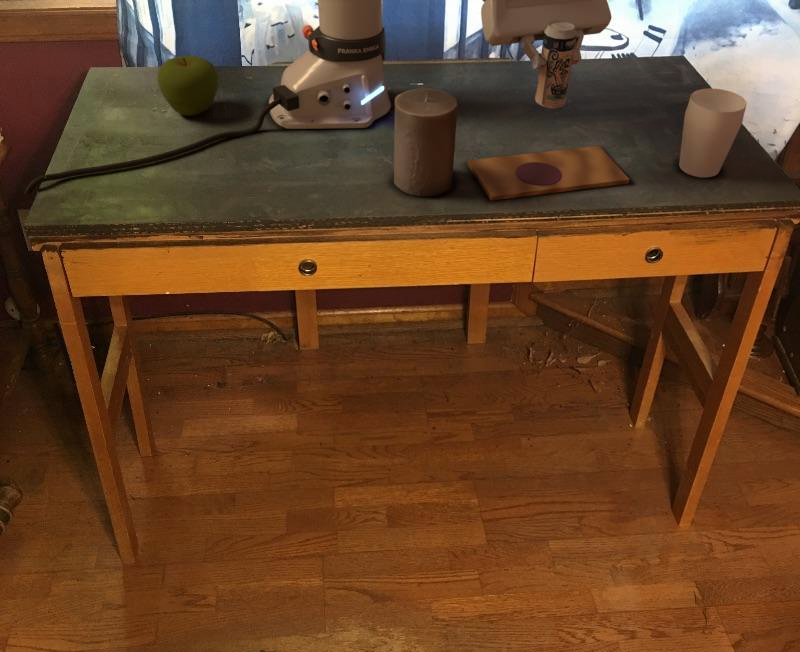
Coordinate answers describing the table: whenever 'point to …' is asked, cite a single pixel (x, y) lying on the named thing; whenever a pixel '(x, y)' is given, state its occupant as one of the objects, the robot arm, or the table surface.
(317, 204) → the table surface
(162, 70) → the apple
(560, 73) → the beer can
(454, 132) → the pillar candle
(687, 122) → the cup
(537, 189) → the wooden board
